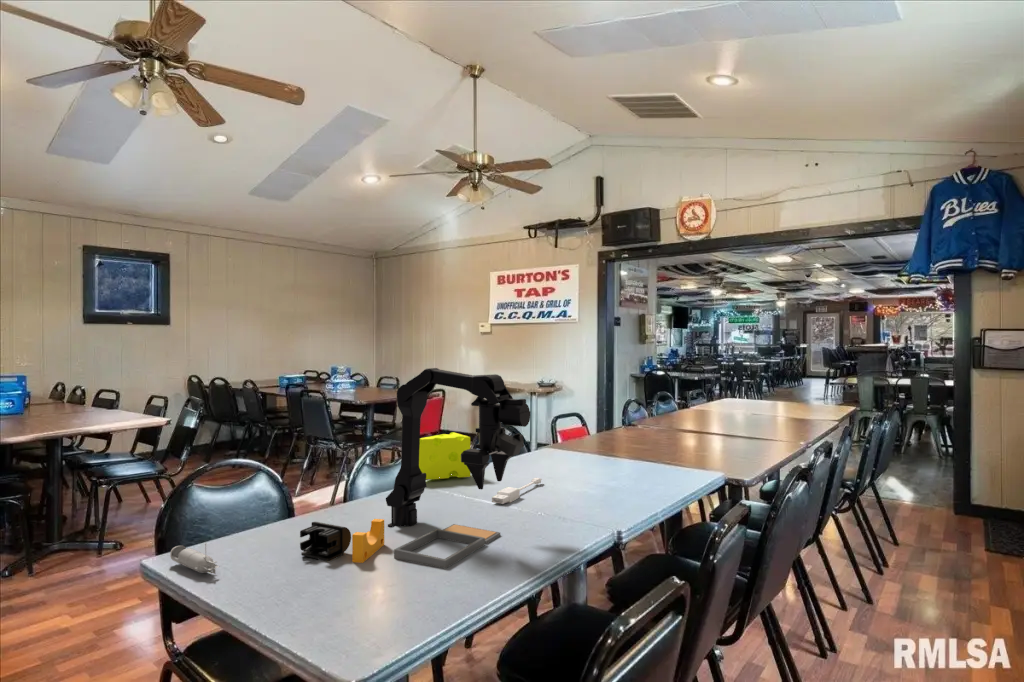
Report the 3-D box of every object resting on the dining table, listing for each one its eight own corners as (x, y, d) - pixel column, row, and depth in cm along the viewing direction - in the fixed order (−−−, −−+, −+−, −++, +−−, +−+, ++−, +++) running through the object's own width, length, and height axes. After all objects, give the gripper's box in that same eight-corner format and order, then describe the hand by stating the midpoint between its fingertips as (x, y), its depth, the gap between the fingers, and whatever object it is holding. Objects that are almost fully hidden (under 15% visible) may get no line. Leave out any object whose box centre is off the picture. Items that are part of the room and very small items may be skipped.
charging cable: (545, 484, 204) (545, 475, 204) (504, 506, 177) (504, 496, 177) (533, 482, 206) (533, 474, 206) (490, 504, 179) (490, 494, 179)
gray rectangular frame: (394, 558, 134) (394, 549, 134) (436, 536, 149) (436, 528, 149) (445, 569, 127) (445, 560, 127) (484, 545, 142) (484, 537, 142)
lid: (438, 535, 150) (438, 531, 150) (453, 527, 156) (453, 523, 156) (486, 545, 143) (486, 540, 143) (500, 536, 149) (500, 531, 149)
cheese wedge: (464, 482, 205) (463, 441, 205) (410, 480, 209) (410, 440, 209) (476, 470, 224) (476, 432, 224) (427, 468, 228) (427, 431, 228)
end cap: (351, 552, 139) (351, 524, 139) (330, 562, 132) (329, 532, 132) (321, 545, 143) (320, 518, 143) (298, 555, 137) (298, 526, 137)
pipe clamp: (368, 544, 144) (368, 518, 144) (384, 545, 143) (384, 519, 143) (345, 562, 132) (345, 534, 132) (362, 563, 132) (362, 535, 132)
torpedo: (164, 562, 133) (163, 534, 133) (185, 556, 137) (185, 529, 137) (204, 581, 123) (204, 550, 123) (226, 573, 126) (225, 543, 126)
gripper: (499, 431, 134) (499, 498, 134) (534, 421, 151) (534, 480, 151) (459, 428, 140) (459, 492, 140) (498, 418, 156) (498, 476, 156)
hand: (490, 485), depth 146 cm, fingers open, 9 cm apart
